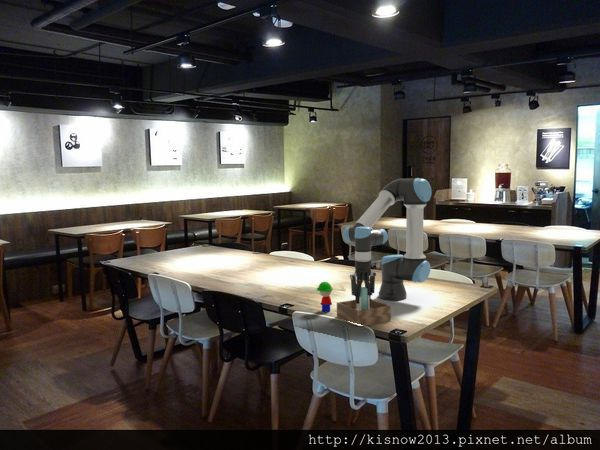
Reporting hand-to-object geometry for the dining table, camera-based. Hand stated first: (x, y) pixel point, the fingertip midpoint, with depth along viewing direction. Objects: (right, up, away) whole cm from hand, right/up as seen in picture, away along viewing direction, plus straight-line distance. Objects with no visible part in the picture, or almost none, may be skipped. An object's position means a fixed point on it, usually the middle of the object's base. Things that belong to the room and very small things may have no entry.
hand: (363, 309), depth 232 cm
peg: (0, -4, 0) cm, 4 cm away
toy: (-17, -4, +14) cm, 22 cm away
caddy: (0, -5, +1) cm, 5 cm away
